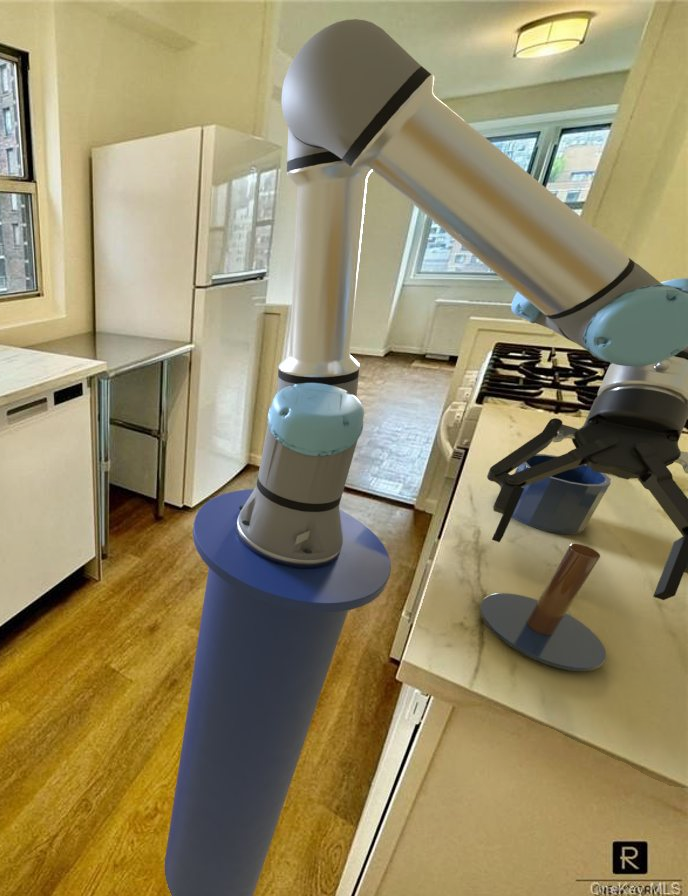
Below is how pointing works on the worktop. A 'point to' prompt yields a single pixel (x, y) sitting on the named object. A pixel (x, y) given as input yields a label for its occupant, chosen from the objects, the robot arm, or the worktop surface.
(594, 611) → the worktop surface
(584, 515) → the pot
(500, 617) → the lid
